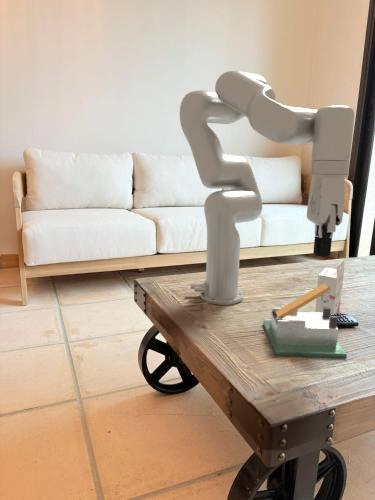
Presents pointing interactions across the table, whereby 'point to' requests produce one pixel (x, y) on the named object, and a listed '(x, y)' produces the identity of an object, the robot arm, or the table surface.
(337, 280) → the ink cartridge box
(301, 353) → the board
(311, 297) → the orange wooden bar
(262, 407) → the table surface
